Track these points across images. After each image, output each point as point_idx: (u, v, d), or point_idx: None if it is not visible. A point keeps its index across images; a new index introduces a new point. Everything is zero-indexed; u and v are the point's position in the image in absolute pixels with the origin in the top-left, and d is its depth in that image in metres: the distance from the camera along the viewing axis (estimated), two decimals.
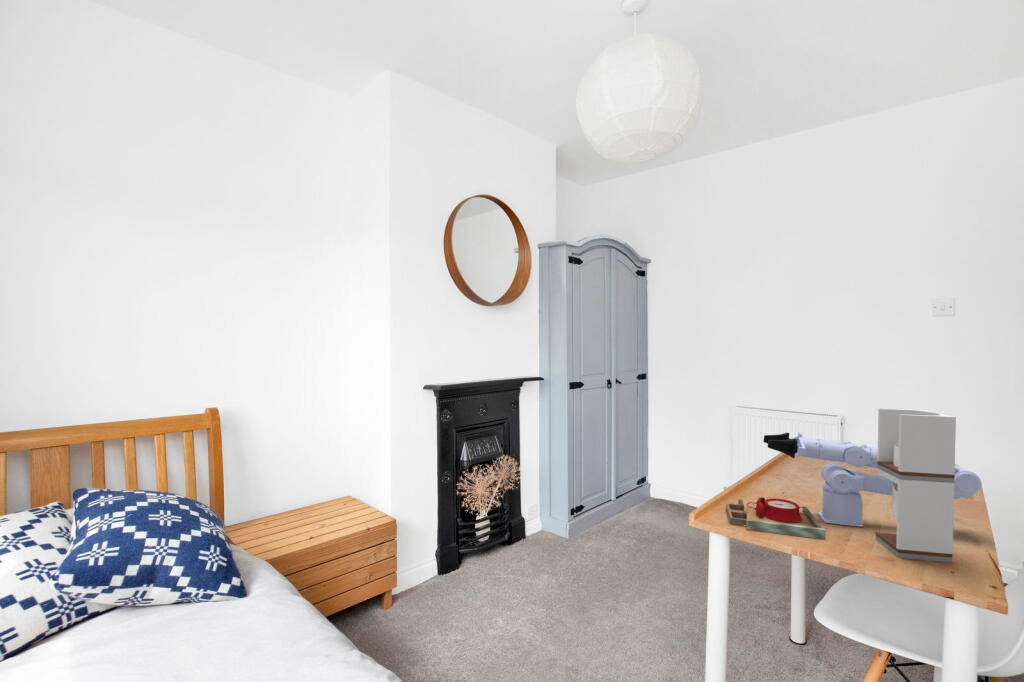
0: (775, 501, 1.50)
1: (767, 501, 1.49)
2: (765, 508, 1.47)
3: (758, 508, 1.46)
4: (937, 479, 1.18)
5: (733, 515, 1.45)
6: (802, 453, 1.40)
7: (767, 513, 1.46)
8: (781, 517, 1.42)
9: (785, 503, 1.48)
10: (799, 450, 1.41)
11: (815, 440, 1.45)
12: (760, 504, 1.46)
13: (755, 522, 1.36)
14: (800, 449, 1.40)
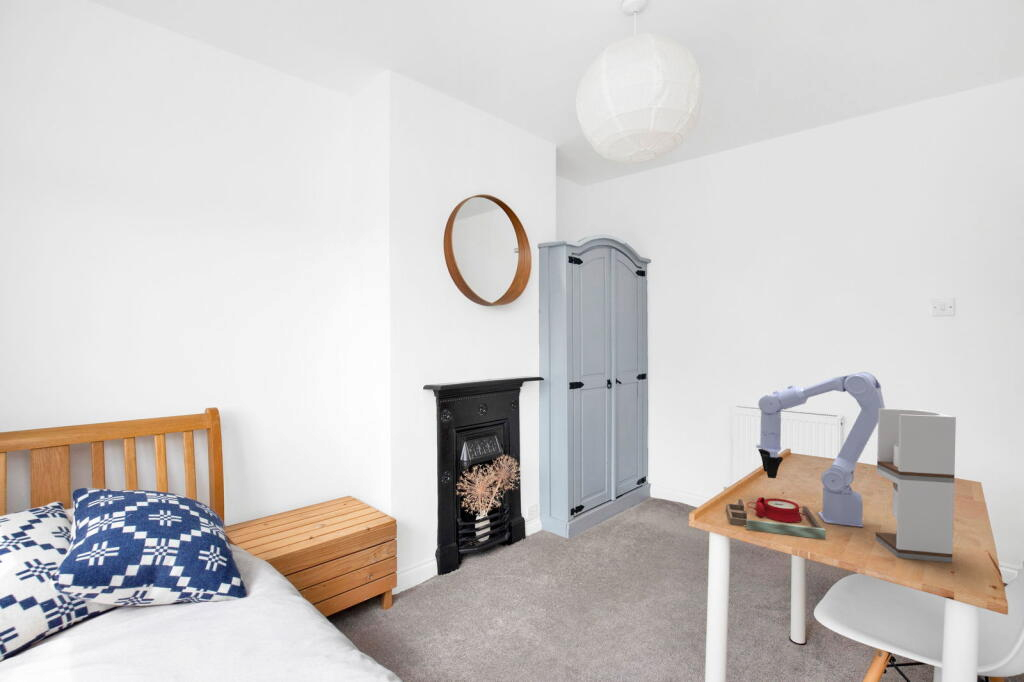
0: (775, 501, 1.50)
1: (767, 501, 1.49)
2: (765, 508, 1.47)
3: (758, 508, 1.46)
4: (937, 479, 1.18)
5: (733, 515, 1.45)
6: (776, 453, 1.50)
7: (767, 513, 1.46)
8: (781, 517, 1.42)
9: (785, 503, 1.48)
10: (773, 456, 1.50)
11: (761, 434, 1.57)
12: (760, 504, 1.46)
13: (755, 522, 1.36)
14: (772, 455, 1.50)
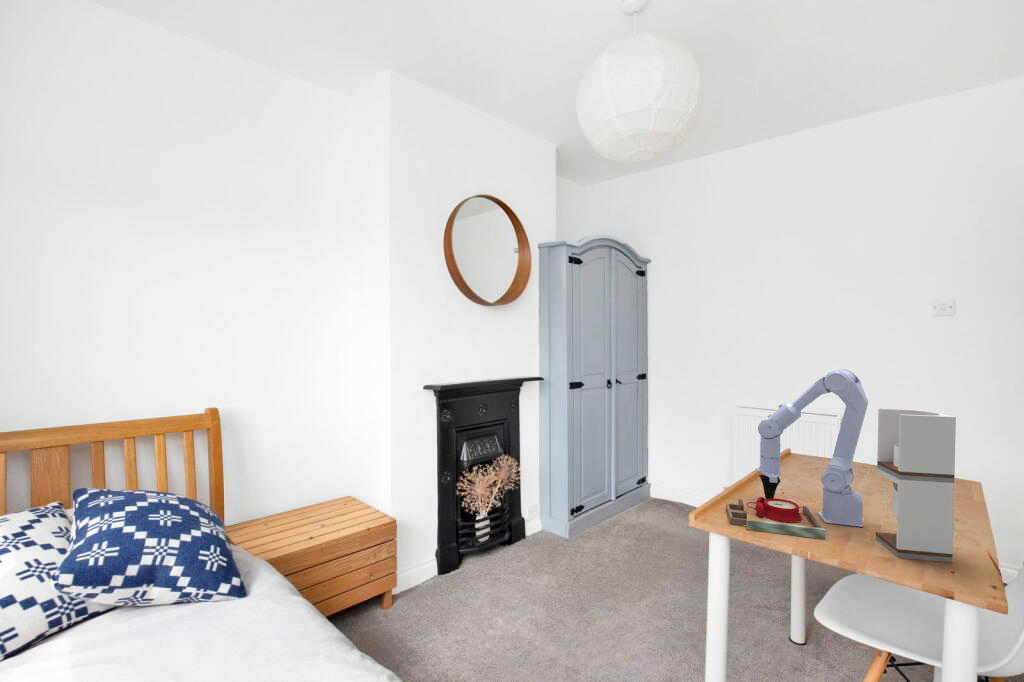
0: (775, 501, 1.50)
1: (767, 501, 1.49)
2: (765, 508, 1.47)
3: (758, 508, 1.46)
4: (937, 479, 1.18)
5: (733, 515, 1.45)
6: (776, 479, 1.50)
7: (767, 513, 1.46)
8: (781, 517, 1.42)
9: (785, 503, 1.48)
10: (773, 481, 1.50)
11: (761, 459, 1.57)
12: (760, 504, 1.46)
13: (755, 522, 1.36)
14: (772, 480, 1.51)
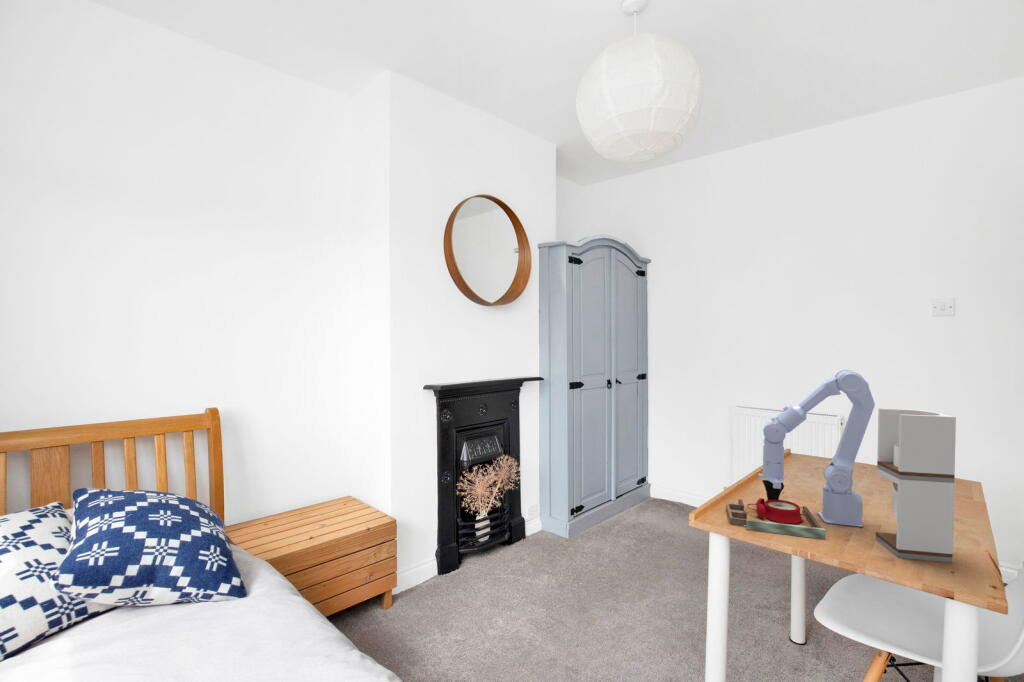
0: (775, 502, 1.48)
1: (767, 502, 1.48)
2: (766, 509, 1.46)
3: (759, 509, 1.44)
4: (937, 479, 1.18)
5: (733, 515, 1.45)
6: (779, 484, 1.44)
7: (768, 514, 1.44)
8: (783, 519, 1.41)
9: (785, 504, 1.47)
10: (776, 487, 1.45)
11: (764, 463, 1.51)
12: (761, 505, 1.45)
13: (755, 522, 1.36)
14: (775, 486, 1.45)
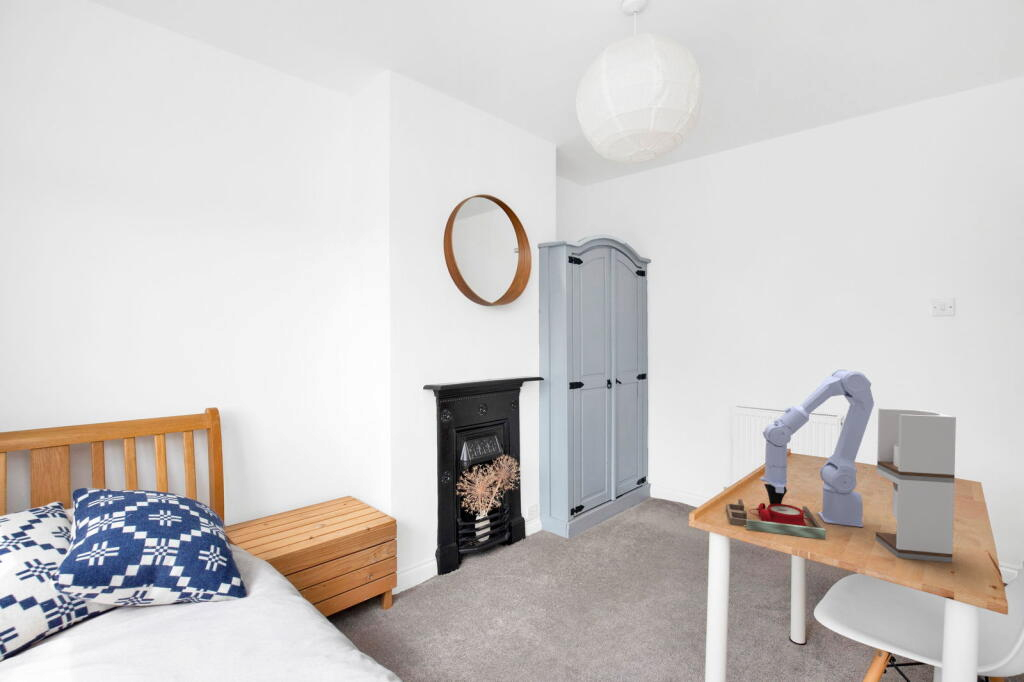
0: (777, 506, 1.45)
1: (770, 507, 1.44)
2: (769, 515, 1.41)
3: (764, 515, 1.40)
4: (937, 479, 1.18)
5: (733, 515, 1.45)
6: (782, 489, 1.40)
7: (772, 520, 1.40)
8: None
9: (787, 508, 1.43)
10: (779, 491, 1.41)
11: (766, 467, 1.47)
12: (765, 511, 1.40)
13: (755, 522, 1.36)
14: (778, 490, 1.41)
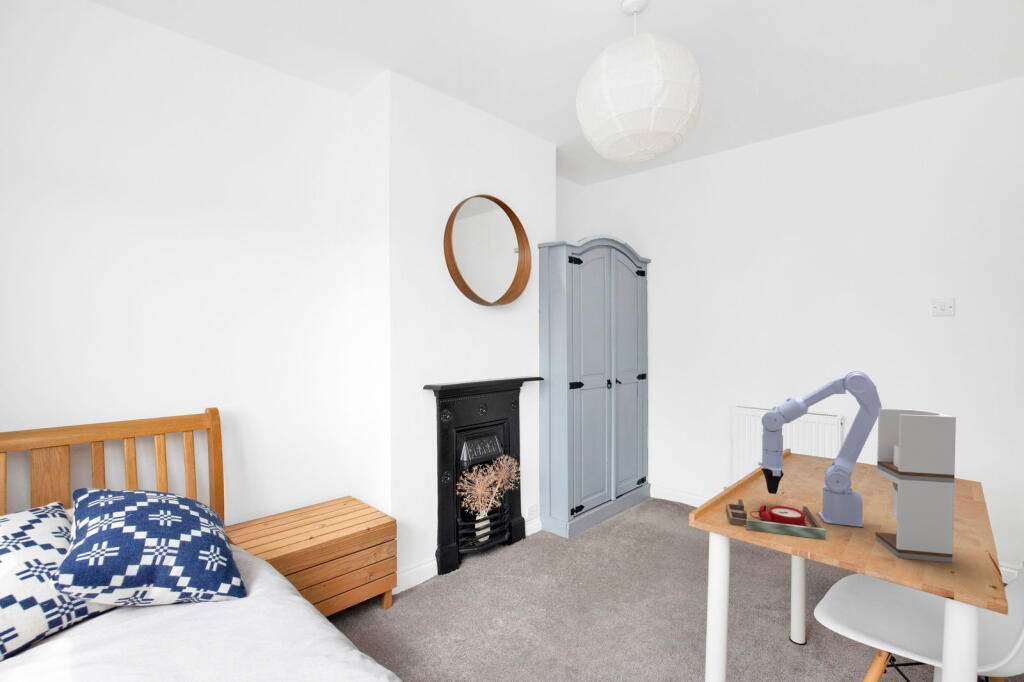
0: (778, 509, 1.43)
1: (770, 509, 1.42)
2: (770, 517, 1.40)
3: (765, 518, 1.38)
4: (937, 479, 1.18)
5: (733, 515, 1.45)
6: (779, 472, 1.46)
7: None
8: None
9: (788, 510, 1.42)
10: (776, 475, 1.46)
11: (763, 452, 1.53)
12: (766, 513, 1.38)
13: (755, 522, 1.36)
14: (775, 474, 1.46)
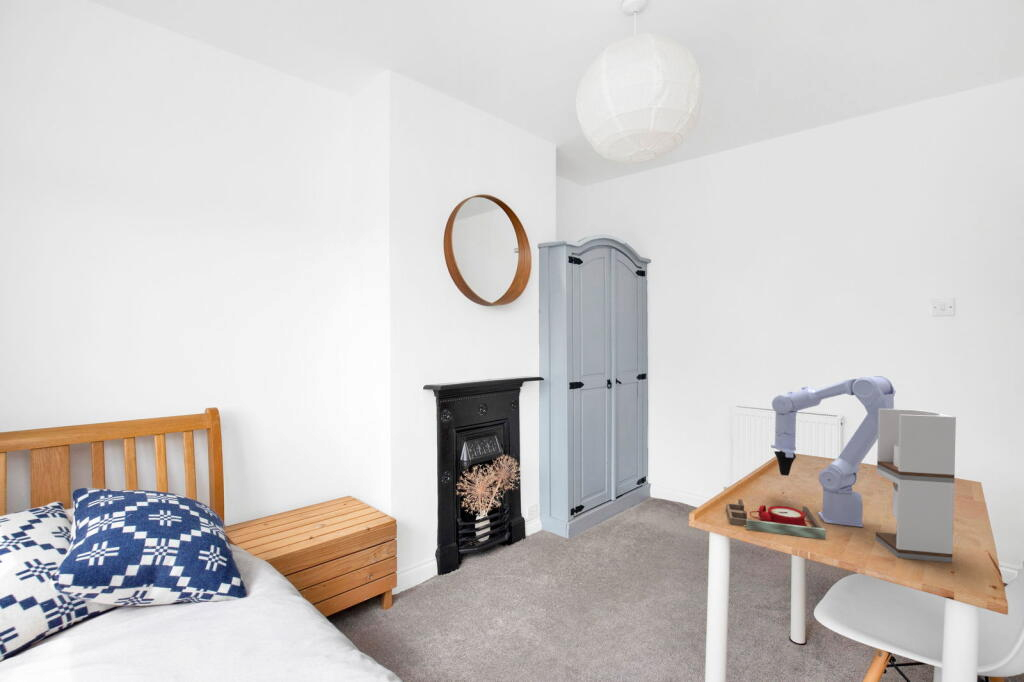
0: (778, 509, 1.43)
1: (770, 509, 1.42)
2: (770, 517, 1.40)
3: (764, 518, 1.38)
4: (937, 479, 1.18)
5: (733, 515, 1.45)
6: (792, 454, 1.50)
7: None
8: None
9: (788, 510, 1.42)
10: (789, 456, 1.50)
11: (776, 435, 1.57)
12: (766, 513, 1.38)
13: (755, 522, 1.36)
14: (788, 455, 1.50)
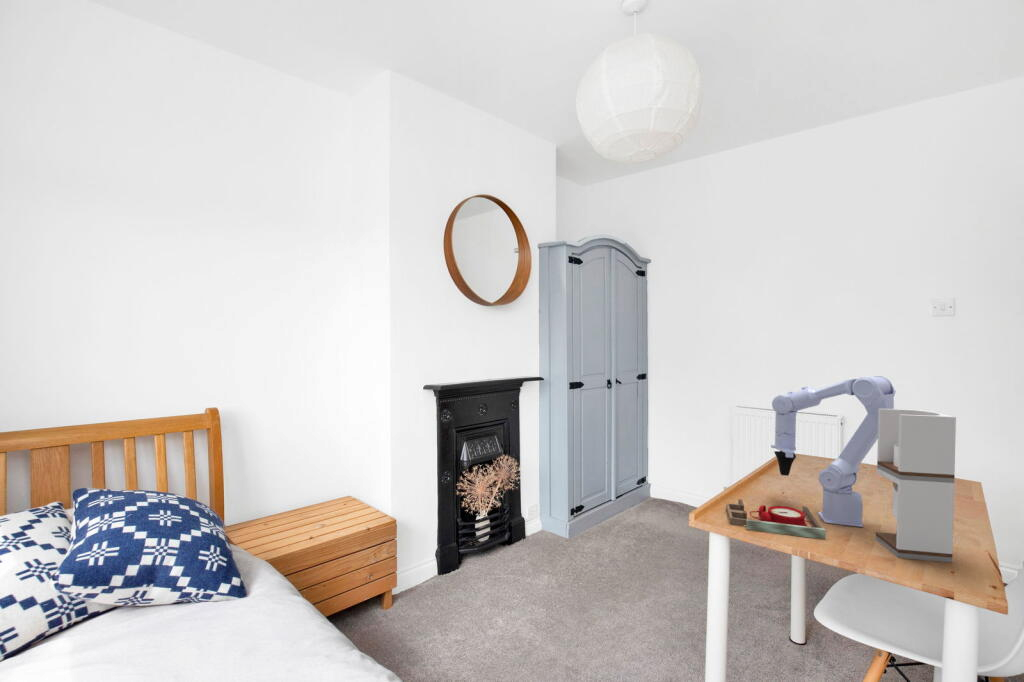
0: (778, 509, 1.43)
1: (770, 509, 1.42)
2: (770, 517, 1.40)
3: (764, 518, 1.38)
4: (937, 479, 1.18)
5: (733, 515, 1.45)
6: (792, 454, 1.50)
7: None
8: None
9: (788, 510, 1.42)
10: (789, 456, 1.50)
11: (776, 435, 1.57)
12: (766, 513, 1.38)
13: (755, 522, 1.36)
14: (788, 455, 1.50)
